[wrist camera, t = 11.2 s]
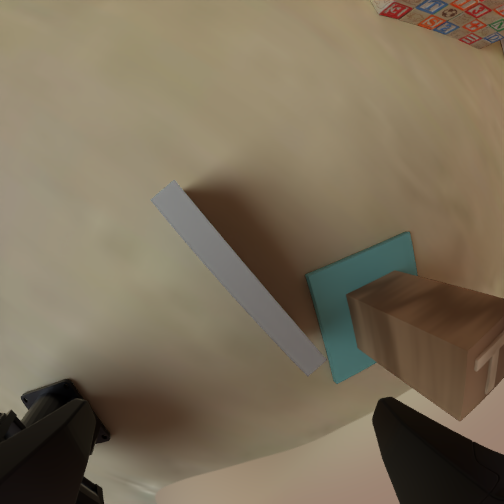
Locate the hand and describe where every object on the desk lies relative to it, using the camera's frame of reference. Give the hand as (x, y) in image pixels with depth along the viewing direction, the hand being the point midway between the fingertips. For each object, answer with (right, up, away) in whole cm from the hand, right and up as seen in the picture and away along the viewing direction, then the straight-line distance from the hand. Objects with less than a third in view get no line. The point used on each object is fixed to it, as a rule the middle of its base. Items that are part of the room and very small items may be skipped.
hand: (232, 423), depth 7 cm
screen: (-1, +4, +13) cm, 13 cm away
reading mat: (+11, 0, +15) cm, 19 cm away
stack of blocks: (+23, +35, +15) cm, 44 cm away
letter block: (+11, 0, +15) cm, 18 cm away
